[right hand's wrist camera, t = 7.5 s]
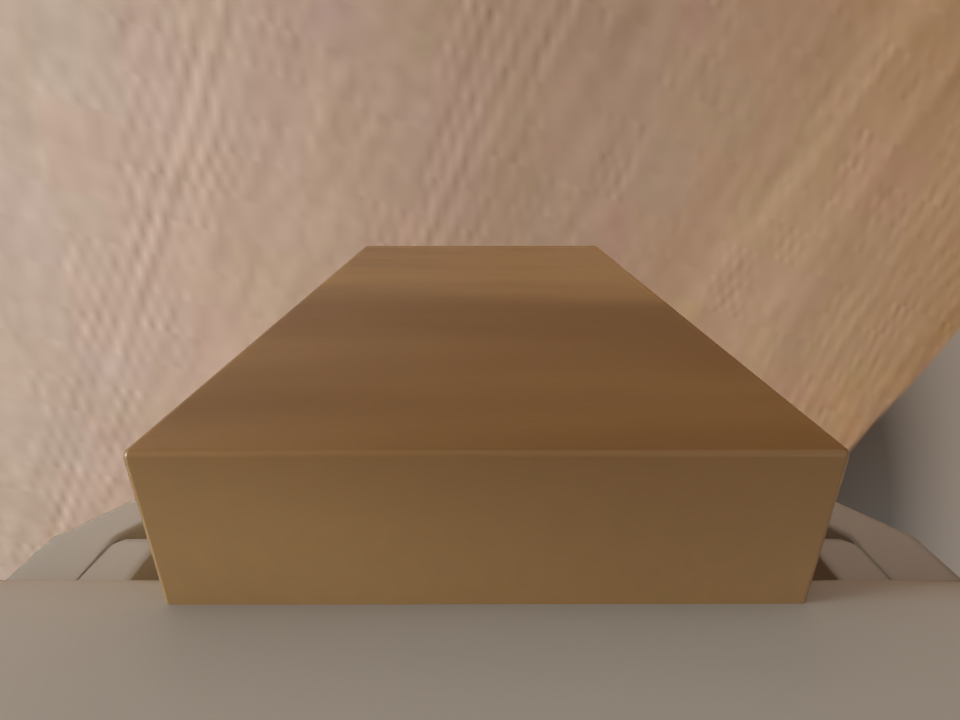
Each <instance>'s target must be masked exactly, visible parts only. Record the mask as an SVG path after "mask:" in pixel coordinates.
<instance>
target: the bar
mask: <svg viewBox="0 0 960 720" xmlns="http://www.w3.org/2000/svg"><path fill="white" fill-rule="evenodd" d="M848 460H849V452H848V450H847V449H846V448H845V447H844V446H843V445H841V444H840V443H839V442H838V441H836V440H835V439H834V438H833V437H831V436H830V435H829V434H828V433H827V432H825V431H824V430H823V429H822V428H820V427H819V426H818V425H817V424H815V423H814V422H813V421H812V420H810V419H809V418H808V417H807V416H805V415H804V414H803V413H802V412H801V411H799V410H798V409H797V408H796V407H794V406H793V405H792V404H791V403H789V402H788V401H787V400H786V399H784V398H783V397H782V396H781V395H779V394H778V393H777V392H776V391H775V390H773V389H772V388H771V387H770V386H768V385H767V384H766V383H765V382H763V381H762V380H761V379H760V378H758V377H757V376H756V375H755V374H753V373H752V372H751V371H750V370H749V369H747V368H746V367H745V366H744V365H742V364H741V363H740V362H739V361H737V360H736V359H735V358H734V357H732V356H731V355H730V354H729V353H727V352H726V351H725V350H724V349H723V348H721V347H720V346H719V345H718V344H716V343H715V342H714V341H713V340H711V339H710V338H709V337H708V336H706V335H705V334H704V333H703V332H701V331H700V330H699V329H698V328H697V327H695V326H694V325H693V324H692V323H690V322H689V321H688V320H687V319H685V318H684V317H683V316H682V315H680V314H679V313H678V312H677V311H676V310H674V309H673V308H672V307H671V306H669V305H668V304H667V303H666V302H664V301H663V300H662V299H661V298H659V297H658V296H657V295H656V294H654V293H653V292H652V291H651V290H650V289H648V288H647V287H646V286H645V285H643V284H642V283H641V282H640V281H638V280H637V279H636V278H635V277H633V276H632V275H631V274H630V273H628V272H627V271H626V270H625V269H624V268H622V267H621V266H620V265H619V264H617V263H616V262H615V261H614V260H612V259H611V258H610V257H609V256H607V255H606V254H605V253H604V252H602V251H601V250H600V249H599V248H598V247H596V246H367V247H365V248H364V249H363V250H362V251H360V252H359V253H358V254H357V255H356V256H354V257H353V258H352V259H351V260H350V261H349V262H347V263H346V264H345V265H344V266H343V267H341V268H340V269H339V270H338V271H337V272H336V273H334V274H333V275H332V276H331V277H330V278H328V279H327V280H326V281H325V282H324V283H323V284H321V285H320V286H319V287H318V288H317V289H315V290H314V291H313V292H312V293H311V294H310V295H308V296H307V297H306V298H305V299H304V300H302V301H301V302H300V303H299V304H298V305H297V306H295V307H294V308H293V309H292V310H291V311H290V312H288V313H287V314H286V315H285V316H284V317H282V318H281V319H280V320H279V321H278V322H277V323H275V324H274V325H273V326H272V327H271V328H269V329H268V330H267V331H266V332H265V333H264V334H262V335H261V336H260V337H259V338H258V339H256V340H255V341H254V342H253V343H252V344H251V345H249V346H248V347H247V348H246V349H245V350H243V351H242V352H241V353H240V354H239V355H238V356H236V357H235V358H234V359H233V360H232V361H231V362H229V363H228V364H227V365H226V366H225V367H223V368H222V369H221V370H220V371H219V372H218V373H216V374H215V375H214V376H213V377H212V378H210V379H209V380H208V381H207V382H206V383H205V384H203V385H202V386H201V387H200V388H199V389H197V390H196V391H195V392H194V393H193V394H192V395H190V396H189V397H188V398H187V399H186V400H184V401H183V402H182V403H181V404H180V405H179V406H177V407H176V408H175V409H174V410H173V411H171V412H170V413H169V414H168V415H167V416H166V417H164V418H163V419H162V420H161V421H160V422H159V423H157V424H156V425H155V426H154V427H153V428H151V429H150V430H149V431H148V432H147V433H146V434H144V435H143V436H142V437H141V438H140V439H138V440H137V441H136V442H135V443H134V444H133V445H131V446H130V447H129V448H128V449H127V450H126V451H125V453H124V461H125V465H126V468H127V471H128V475H129V478H130V482H131V485H132V488H133V492H134V495H135V499H136V502H137V506H138V509H139V512H140V516H141V519H142V523H143V526H144V529H145V533H146V536H147V540H148V543H149V547H150V550H151V553H152V557H153V560H154V564H155V567H156V570H157V574H158V577H159V581H160V584H161V588H162V591H163V594H164V598H165V601H166V604H169V605H340V604H802V603H805V602H806V599H807V595H808V592H809V589H810V585H811V582H812V579H813V575H814V572H815V569H816V566H817V562H818V559H819V556H820V552H821V549H822V546H823V542H824V539H825V536H826V532H827V529H828V526H829V523H830V519H831V516H832V513H833V509H834V506H835V503H836V499H837V496H838V493H839V489H840V486H841V483H842V480H843V476H844V473H845V470H846V466H847V463H848Z"/></svg>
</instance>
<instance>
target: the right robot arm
mask: <svg viewBox="0 0 960 720" xmlns="http://www.w3.org/2000/svg"><path fill="white" fill-rule="evenodd" d="M0 720H960V578H959V577H958V576H957V575H956V574H955V573H954V572H953V571H951V570H950V569H949V568H948V567H947V566H946V565H945V564H944V563H943V562H941V561H940V560H939V559H938V558H937V557H936V556H935V555H934V554H932V553H931V552H930V551H929V550H928V549H927V548H926V547H925V546H924V545H922V544H921V543H920V542H919V541H918V540H917V539H916V538H914V537H912V536H910V535H908V534H906V533H903V532H901V531H899V530H897V529H895V528H892V527H890V526H888V525H886V524H883V523H881V522H879V521H877V520H875V519H872V518H870V517H868V516H866V515H863V514H861V513H859V512H857V511H855V510H852V509H850V508H848V507H846V506H844V505H841V504H839V503H837V502H836V503H835V506H834V509H833V513H832V516H831V519H830V523H829V526H828V529H827V532H826V536H825V539H824V542H823V546H822V549H821V552H820V556H819V559H818V562H817V566H816V569H815V572H814V575H813V579H812V582H811V585H810V589H809V592H808V595H807V599H806V602H805V603H802V604H340V605H169V604H166V601H165V598H164V594H163V591H162V588H161V584H160V581H159V577H158V574H157V570H156V567H155V564H154V560H153V557H152V553H151V550H150V547H149V543H148V540H147V536H146V533H145V529H144V526H143V523H142V519H141V516H140V512H139V509H138V506H137V502H136V500H134V501H132V502H130V503H127V504H125V505H123V506H121V507H119V508H116V509H114V510H112V511H110V512H107V513H105V514H103V515H101V516H99V517H96V518H94V519H92V520H90V521H88V522H85V523H83V524H81V525H79V526H77V527H74V528H72V529H70V530H68V531H66V532H63V533H61V534H59V535H57V536H55V537H53V538H52V539H51V540H50V541H49V542H48V543H47V544H45V545H44V546H43V547H42V548H41V549H40V550H39V551H38V552H37V553H35V554H34V555H33V556H32V557H31V558H30V559H29V560H28V561H27V562H26V563H24V564H23V565H22V566H21V567H20V568H19V569H18V570H17V571H16V572H14V573H13V574H12V575H11V576H10V577H9V578H8V579H7V580H0Z"/></svg>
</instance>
